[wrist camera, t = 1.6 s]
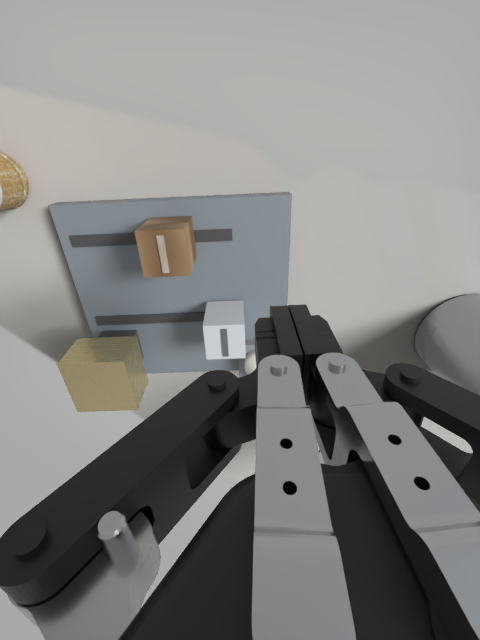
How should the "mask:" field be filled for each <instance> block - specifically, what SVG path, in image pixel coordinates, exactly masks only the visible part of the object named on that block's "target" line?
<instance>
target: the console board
mask: <svg viewBox="0 0 480 640" xmlns="http://www.w3.org/2000/svg"><path fill="white" fill-rule="evenodd" d="M291 200H292V195H291V194H290V193H289V192H281V193H259V194H236V195H214V196H192V197H169V198H147V199H124V200H102V201H79V202H57V203H54V204H51V205H48V207H49V210H50V213H51V216H52V218H53V221H54V224H55V227H56V230H57V233H58V236H59V239H60V242H61V245H62V248H63V251H64V254H65V257H66V260H67V263H68V266H69V269H70V272H71V275H72V278H73V281H74V284H75V287H76V290H77V293H78V295H79V298H80V301H81V304H82V307H83V310H84V313H85V316H86V319H87V322H88V325H89V328H90V331H91V334H92V337H93V338H101V337H127V336H137V339H138V343H139V347H140V351H141V355H142V359H143V363H144V367H145V371H146V373H171V372H197V371H214V370H239V375H240V376H246V375H248V374H250V373H252V372H253V371H254V370H255V369H256V357H255V323H256V321H257V320H258V318H267V317H270V306H285V305H287V296H288V272H289V248H290V224H291ZM177 216H192V220H193V229H194V237H195V246H196V255H197V257H196V260H195V263H194V266H193V269H192V272H191V275H190V276H174V277H150V278H144V274H143V270H142V265H141V260H140V256H139V251H138V246H137V241H136V237H135V232H134V231H135V230H136V229H138V228H139V227H140V226H141V225H142V224H143V223H144V222H146V221H147V220H148V219H149V218H154V217H177ZM239 300H244V322H245V348H246V358H237V359H211V360H207V359H206V350H205V342H204V333H203V321H204V316H205V311H206V305H207V302H214V301H239Z"/></svg>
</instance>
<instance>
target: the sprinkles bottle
mask: <svg viewBox="0 0 480 640" xmlns="http://www.w3.org/2000/svg"><path fill="white" fill-rule="evenodd" d="M27 195H28V183H27V178H26V176H25V173H24V172H23V170H22V169H21V167H20V166H19V165H18V164H17V163H16V162H15V161H14V160H13V159H11V158H10V157H9V156H8V155H6V154H4V153H2V152H0V210H4V209H12V208H17V207H19V206H20V205H22V204H23V203H24V201H25V200H26V198H27Z"/></svg>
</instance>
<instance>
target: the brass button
mask: <svg viewBox="0 0 480 640" xmlns="http://www.w3.org/2000/svg"><path fill="white" fill-rule="evenodd" d="M57 365H58V368H59V370H60V372H61V374H62V377H63V379H64V381H65V384H66V386H67V388H68V391H69V393H70V395H71V398H72V400H73V402H74V404H75V407H76V409H77V411H78V412H87V411H116V410H138V408H139V405H140V402H141V399H142V397H143V394H144V391H145V389H146V386H147V383H148V379H147V375H146V371H145V367H144V363H143V359H142V355H141V351H140V347H139V343H138V339H137V336H127V337H101V338H78V339H77V340H76V341H75V343H74V344H73V345H72V346H71V347H70V349H69V350H68V351H67V352H66V354H65V355H64V356H63V357H62V359H61V360H60V361H59V362H58V364H57Z"/></svg>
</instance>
